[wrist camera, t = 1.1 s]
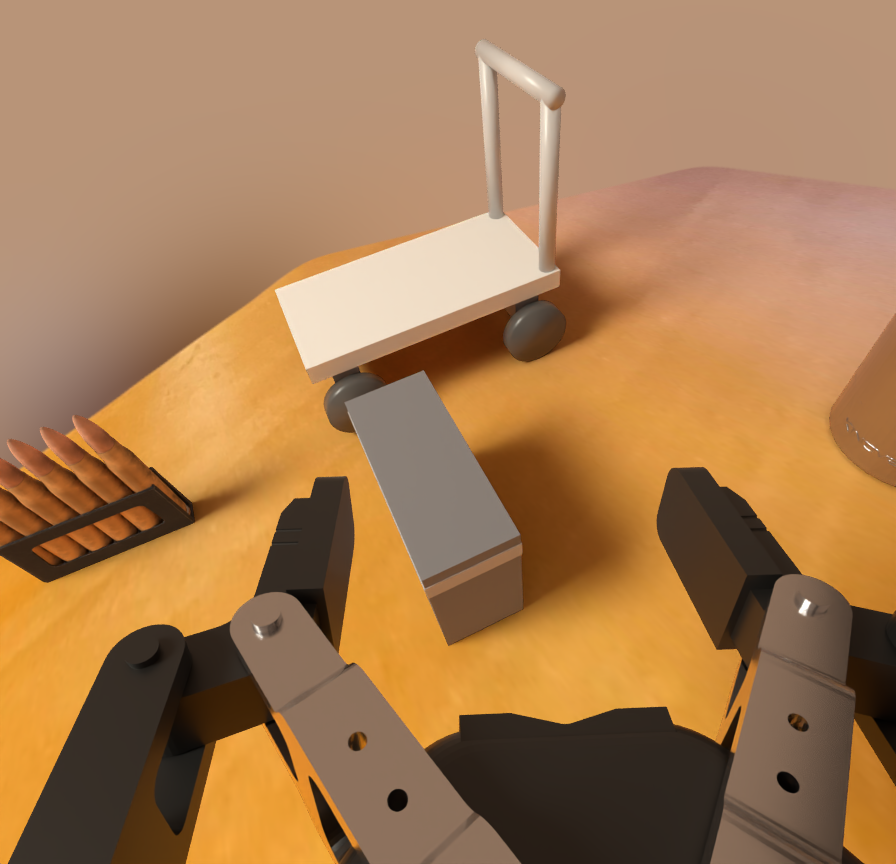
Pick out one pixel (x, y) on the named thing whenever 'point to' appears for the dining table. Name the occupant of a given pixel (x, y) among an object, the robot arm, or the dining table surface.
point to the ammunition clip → (82, 503)
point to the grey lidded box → (441, 506)
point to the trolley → (440, 269)
